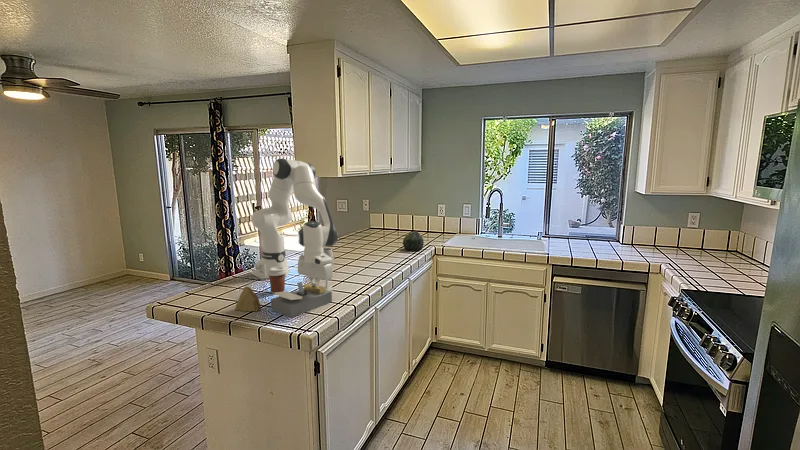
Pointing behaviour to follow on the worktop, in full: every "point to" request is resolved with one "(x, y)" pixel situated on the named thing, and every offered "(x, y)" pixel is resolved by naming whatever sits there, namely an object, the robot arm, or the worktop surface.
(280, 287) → the coffee cup
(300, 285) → the paddle
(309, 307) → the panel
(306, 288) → the gold rectangular block
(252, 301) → the rock
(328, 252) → the wineglass
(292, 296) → the white slab
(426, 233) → the worktop surface
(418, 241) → the squash
